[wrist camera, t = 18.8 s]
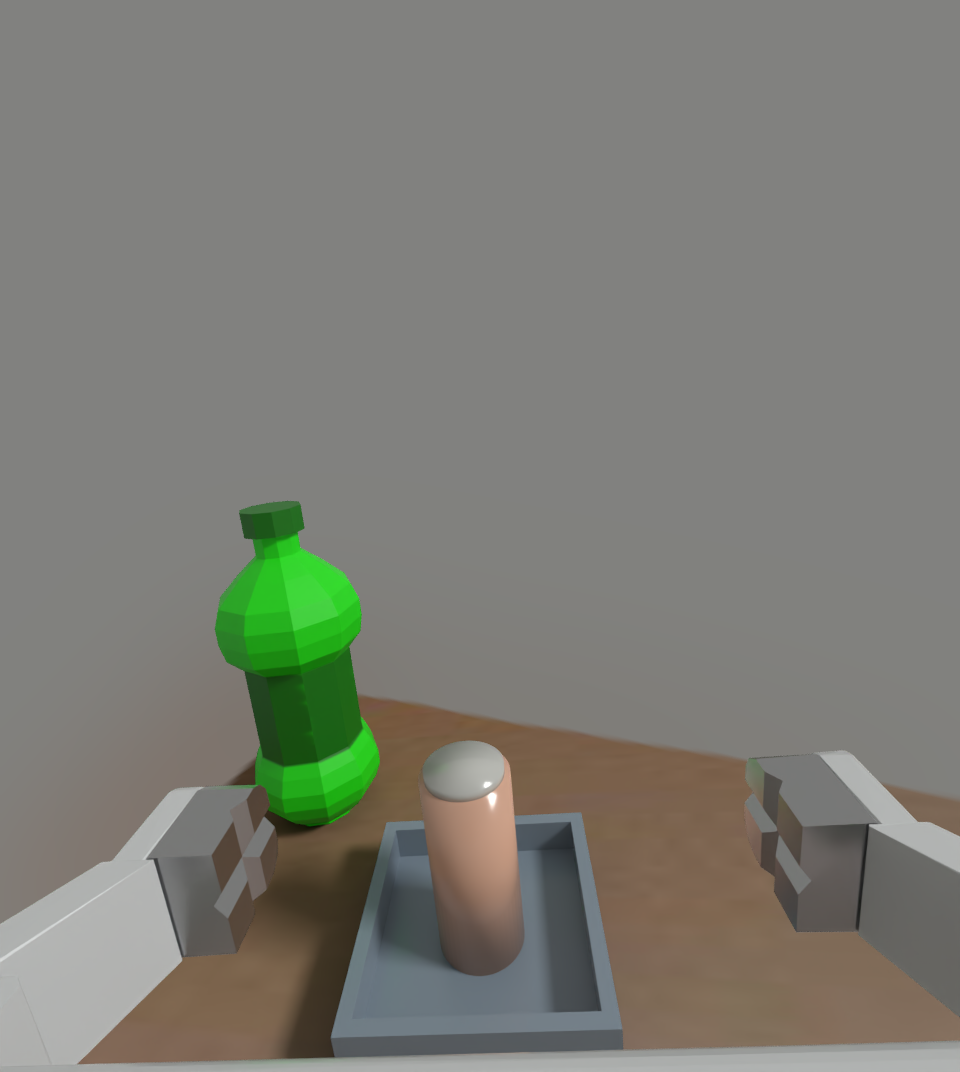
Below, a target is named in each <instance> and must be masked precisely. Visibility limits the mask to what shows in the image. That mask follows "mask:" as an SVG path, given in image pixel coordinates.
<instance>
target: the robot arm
mask: <svg viewBox="0 0 960 1072" xmlns="http://www.w3.org/2000/svg"><path fill="white" fill-rule="evenodd" d="M745 780H746V782H747V783H748V785H749V787H750V788H751V790H752V791H753V793H752V794H751V796H750V797H749V798H748V799H747V801H746V802H745V825H746V830H747V835H748V840H749V843H750V845H751V848H752V851H753V853H754V855H755V857H756V859H757V861H758V863H759V865H760V867H761V868H763V869H764V870H766V871H767V872H769V873H770V874H771V875H773V876H774V877H775V884H774V892H775V894H776V896H777V898H778V900H779V902H780V903H781V905H782V907H783V909H784V911H785V912H786V914H787V916H788V918H789V920H790V921H791V923H792V925H793V927H794V929H795V931H796V932H859V933H858V935H859V936H860V937H862V938H863V939H864V940H865V941H866V942H868V943H869V944H870V945H871V946H873V947H874V948H875V949H876V950H878V951H879V952H880V953H881V954H882V955H884V956H885V957H886V958H887V959H889V960H890V961H891V962H892V963H894V964H895V965H896V966H897V967H898V968H900V969H901V970H902V971H903V972H905V973H906V974H907V975H908V976H909V977H911V978H912V979H913V980H914V981H916V982H917V983H918V984H919V985H921V986H922V987H923V988H924V989H925V990H927V991H928V992H929V993H930V994H932V995H933V996H934V997H935V998H937V999H938V1000H939V1001H940V1002H941V1003H943V1004H944V1005H945V1006H946V1007H948V1008H949V1009H950V1010H951V1011H952V1012H954V1013H955V1014H956V1015H957V1016H959V1017H960V837H959V836H957V835H955V834H953V833H951V832H949V831H947V830H945V829H943V828H940V827H938V826H936V825H934V824H932V823H930V822H917V821H916V820H915V819H914V818H913V817H912V815H911V814H910V813H909V812H908V811H907V810H906V809H905V808H904V807H903V806H902V805H901V804H900V803H899V802H898V801H897V800H896V799H895V798H894V797H893V796H892V795H891V794H890V793H889V792H888V791H887V790H886V789H885V788H884V787H883V786H882V785H881V784H880V783H879V782H878V781H877V780H876V779H875V777H874V776H873V775H872V774H871V773H870V772H868V770H867V769H866V768H865V767H864V766H863V765H862V764H861V763H860V762H859V761H858V760H857V759H856V758H855V757H854V756H853V755H852V754H850V753H849V752H846V751H844V750H841V751H830V752H819V753H812V754H808V755H807V754H806V755H790V756H774V757H756V758H749V759H748V761H747V764H746V774H745ZM269 806H270V802H269V799H268V795H267V791H266V788H264V787H263V786H261V785H233V786H206V787H188V788H187V787H186V788H177V789H174V790H172V791H170V792H169V793H168V794H167V795H166V796H165V798H164V799H163V800H162V801H161V802H160V804H159V805H158V806H157V807H156V808H155V810H154V811H153V812H152V813H151V815H150V816H149V817H148V818H147V819H146V821H145V822H144V823H143V824H142V825H141V827H140V828H139V829H138V830H137V831H136V833H135V834H134V835H133V836H132V837H131V839H130V840H129V841H128V842H127V844H126V845H125V846H124V847H123V848H122V850H121V851H120V852H119V853H118V854H117V856H116V857H115V858H114V859H113V860H112V861H111V862H101V863H100V864H98V865H96V866H95V867H93V868H92V869H90V870H88V871H87V872H85V873H83V874H82V875H80V876H78V877H77V878H75V879H74V880H72V881H70V882H69V883H67V884H66V885H64V886H62V887H60V888H59V889H57V890H55V891H54V892H52V893H51V894H49V895H47V896H46V897H44V898H42V899H41V900H39V901H37V902H36V903H34V904H32V905H31V906H29V907H28V908H26V909H24V910H23V911H21V912H19V913H18V914H16V915H14V916H13V917H11V918H10V919H8V920H6V921H5V922H3V923H1V924H0V1072H960V1041H932V1042H895V1043H859V1044H823V1045H785V1046H747V1047H709V1048H670V1049H632V1050H593V1051H556V1052H519V1053H482V1054H446V1055H409V1056H372V1057H335V1058H298V1059H261V1060H224V1061H187V1062H150V1063H113V1064H77V1063H78V1062H79V1061H80V1060H81V1059H82V1058H83V1057H84V1056H86V1055H87V1054H88V1053H89V1052H90V1051H91V1050H92V1049H93V1048H94V1047H95V1046H96V1045H97V1044H98V1043H99V1042H100V1041H101V1040H102V1039H103V1038H104V1037H105V1036H106V1035H107V1034H108V1033H109V1032H110V1031H111V1030H112V1029H113V1028H114V1027H115V1026H116V1025H117V1024H118V1023H119V1022H120V1021H121V1020H122V1019H123V1018H124V1017H125V1016H126V1015H127V1014H128V1013H129V1012H130V1011H131V1010H132V1009H133V1008H135V1007H136V1006H137V1005H138V1004H139V1003H140V1002H141V1001H142V1000H143V999H144V998H145V997H146V996H147V995H148V994H149V993H150V992H151V991H152V990H153V989H154V988H155V987H156V986H157V985H158V984H159V983H160V982H161V981H162V980H163V979H164V978H165V977H166V976H167V975H168V974H169V973H170V972H171V971H172V970H173V969H174V968H175V967H176V966H177V965H178V964H179V963H180V962H181V961H182V957H194V956H208V955H222V954H236V953H237V952H238V950H239V948H240V945H241V943H242V941H243V939H244V937H245V935H246V933H247V931H248V929H249V926H250V924H251V922H252V920H253V918H254V916H255V910H254V905H253V900H255V899H256V898H257V897H258V896H259V895H261V894H262V893H263V892H264V891H265V890H267V888H268V886H269V883H270V881H271V879H272V877H273V874H274V870H275V866H276V861H277V856H278V839H277V834H276V829H275V827H274V826H273V825H272V824H271V823H270V822H269V821H268V820H267V819H266V818H265V817H264V816H265V814H266V812H267V810H268V808H269Z"/></svg>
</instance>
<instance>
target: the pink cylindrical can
mask: <svg viewBox="0 0 960 1072" xmlns="http://www.w3.org/2000/svg"><path fill="white" fill-rule="evenodd" d="M418 785H419V792H420V799H421V807H422V814H423V821H424V828H425V836H426V843H427V850H428V857H429V865H430V872H431V879H432V886H433V894H434V901H435V908H436V915H437V923H438V930H439V937H440V944H441V949H442V952H443V954H444V956H445V958H446V960H447V961H448V962H449V963H450V965H452V966H453V967H454V968H455V969H457V970H458V971H460V972H462V973H464V974H468V975H472V976H487V975H492V974H495V973H497V972H499V971H501V970H503V969H505V968H506V967H508V966H509V965H510V964H511V963H512V962H513V961H514V960H515V959H516V958H517V956H518V954H519V953H520V951H521V949H522V946H523V943H524V937H525V930H524V919H523V908H522V896H521V885H520V874H519V863H518V852H517V840H516V829H515V818H514V807H513V796H512V785H511V773H510V766H509V763H508V762H507V760H506V759H505V757H504V756H503V755H501V753H500V752H499V751H498V750H497V749H496V748H494V747H493V746H491V745H489V744H486V743H483V742H478V741H460V742H455V743H451V744H448V745H445V746H443V747H441V748H439V749H438V750H436V751H435V752H433V753H432V754H431V755H430V756H429V757H428V758H427V760H426V761H425V763H424V766H423V767H422V769H421V771H420V773H419V776H418Z"/></svg>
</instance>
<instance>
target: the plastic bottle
mask: <svg viewBox="0 0 960 1072" xmlns="http://www.w3.org/2000/svg"><path fill="white" fill-rule="evenodd" d="M239 514H240V519H241V523H242V529H243V534H244V538H246V539H253V543H254V548H255V553H256V556H255V557H254V558H253V559H252V560H251V561H250V562H249V563H248V565H247V566H246V567H245V568H244V569H243V570H242V571H241V572H240V573H239V574H238V575H237V577H236V578H235V579H234V581H233V582H232V583H231V585H230V586H229V587H228V588H227V589H226V591H225V592H224V593H223V594H222V596H221V597H220V602H219V607H218V613H217V620H216V626H215V632H216V636H217V641H218V645H219V648H220V650H221V652H222V654H223V656H224V657H225V660H226V662H227V663H229V664H231V665H233V666H236V667H237V668H239V669H241V670H243V671H245V676H246V680H247V685H248V690H249V694H250V699H251V703H252V708H253V713H254V718H255V722H256V726H257V731H258V736H259V740H260V747H259V749H258V753H257V758H256V762H255V783H256V785H261V786H263V787H264V788H266V791H267V795H268V799H269V802H270V806H269V808H268V810H269V811H271V812H273V813H275V814H277V815H279V816H281V817H283V818H285V819H287V820H289V821H291V822H293V823H295V824H303V825H307V826H316V825H324V824H330V823H332V822H334V821H335V820H337V819H339V818H340V817H342V816H344V815H346V814H347V813H349V811H350V810H351V809H352V808H353V807H354V806H355V805H356V804H358V802H359V801H360V800H361V798H362V797H363V795H364V793H365V792H366V790H367V789H368V787H369V785H370V784H371V782H372V781H373V779H374V777H375V776H376V774H377V770H378V767H379V763H380V759H379V753H378V748H377V746H376V743H375V740H374V738H373V735H372V732H371V730H370V728H369V727H368V725H367V724H366V722H365V721H364V720H363V719H362V717H361V716H360V710H359V704H358V697H357V691H356V685H355V680H354V673H353V667H352V660H351V654H350V648H349V646H350V644H351V643H352V642H353V640H354V639H355V638H356V636H357V635H358V634H359V632H360V628H361V615H362V614H361V608H360V601H359V598H358V596H357V594H356V592H355V591H354V589H353V587H352V585H351V584H350V582H349V580H348V579H347V577H346V575H345V573H344V572H342V571H340V570H339V569H337V568H336V567H334V566H332V565H331V564H329V563H327V562H326V561H324V560H322V559H321V558H319V557H317V556H315V555H313V554H311V553H309V552H307V551H305V550H304V549H302V548H300V544H299V538H298V531H300V530H302V529H304V523H303V517H302V512H301V506H300V503H299V502H297V501H283V502H273V503H266V504H261V505H256V506H251V507H248V508H245V509H242V510H240V513H239Z"/></svg>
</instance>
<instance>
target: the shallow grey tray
mask: <svg viewBox="0 0 960 1072" xmlns="http://www.w3.org/2000/svg"><path fill="white" fill-rule="evenodd" d="M514 818H515V829H516V840H517V852H518V863H519V874H520V885H521V896H522V908H523V919H524V930H525V937H524V943H523V946H522V949H521V951H520V953H519V954H518V956H517V958H516V959H515V960H514V961H513V962H512V963H511V964H510V965H509V966H508V967H506V968H505V969H503V970H501V971H499V972H497V973H495V974H492V975H487V976H472V975H468V974H464V973H462V972H460V971H458V970H457V969H455V968H454V967H453V966H452V965H450V963H449V962H448V961H447V960H446V958H445V956H444V954H443V952H442V949H441V944H440V937H439V930H438V923H437V915H436V908H435V901H434V894H433V886H432V879H431V872H430V865H429V857H428V850H427V843H426V836H425V828H424V821H404V822H387V823H386V827H385V831H384V835H383V839H382V842H381V846H380V850H379V854H378V858H377V862H376V865H375V869H374V873H373V877H372V881H371V885H370V888H369V892H368V896H367V900H366V904H365V908H364V911H363V915H362V919H361V923H360V927H359V931H358V934H357V938H356V942H355V946H354V950H353V954H352V957H351V961H350V965H349V969H348V973H347V977H346V981H345V984H344V988H343V992H342V996H341V1000H340V1004H339V1007H338V1011H337V1015H336V1019H335V1023H334V1027H333V1030H332V1034H331V1042H332V1047H333V1052H334V1056H335V1057H372V1056H409V1055H446V1054H482V1053H519V1052H556V1051H593V1050H623V1032H622V1024H621V1019H620V1014H619V1009H618V1004H617V998H616V993H615V988H614V983H613V977H612V972H611V967H610V962H609V956H608V951H607V946H606V941H605V935H604V930H603V925H602V920H601V914H600V909H599V904H598V899H597V893H596V888H595V883H594V878H593V872H592V867H591V862H590V857H589V851H588V846H587V841H586V836H585V830H584V825H583V820H582V815H581V813H562V814H542V815H522V816H514Z"/></svg>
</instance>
